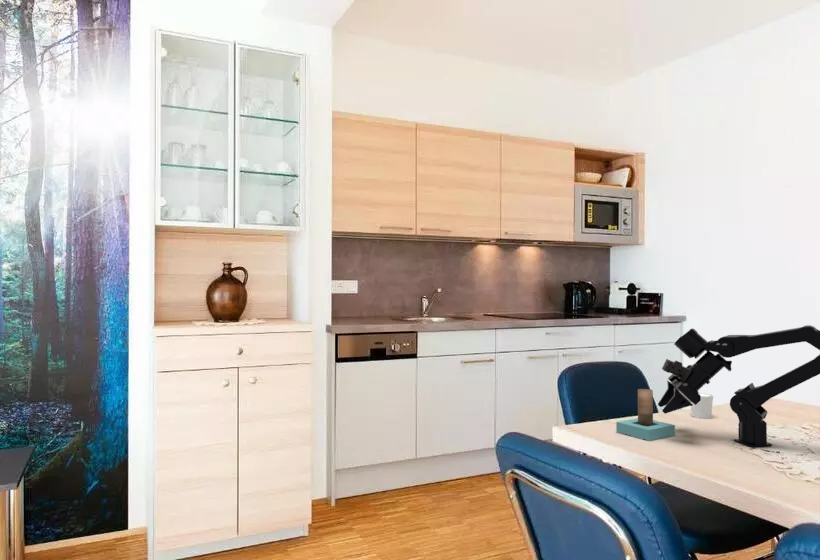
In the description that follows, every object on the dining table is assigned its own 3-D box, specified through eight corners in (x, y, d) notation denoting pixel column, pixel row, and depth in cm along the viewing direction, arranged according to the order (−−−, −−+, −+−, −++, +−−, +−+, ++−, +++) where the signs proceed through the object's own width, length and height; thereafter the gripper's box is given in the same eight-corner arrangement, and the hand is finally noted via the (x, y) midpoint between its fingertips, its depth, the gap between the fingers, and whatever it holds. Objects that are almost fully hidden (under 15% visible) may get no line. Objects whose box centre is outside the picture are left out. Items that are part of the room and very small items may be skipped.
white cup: (689, 417, 191) (688, 395, 191) (690, 413, 197) (690, 392, 197) (713, 419, 187) (712, 397, 187) (713, 415, 193) (713, 393, 194)
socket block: (674, 435, 168) (674, 424, 168) (648, 440, 163) (648, 429, 163) (642, 427, 178) (642, 417, 178) (616, 432, 172) (616, 422, 172)
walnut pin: (656, 435, 168) (655, 391, 169) (643, 436, 168) (642, 391, 168) (648, 432, 172) (647, 388, 172) (635, 432, 172) (634, 389, 172)
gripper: (675, 346, 177) (636, 383, 179) (686, 353, 159) (642, 393, 161) (704, 373, 174) (664, 410, 177) (719, 384, 156) (674, 424, 159)
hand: (661, 408), depth 169 cm, fingers open, 9 cm apart
